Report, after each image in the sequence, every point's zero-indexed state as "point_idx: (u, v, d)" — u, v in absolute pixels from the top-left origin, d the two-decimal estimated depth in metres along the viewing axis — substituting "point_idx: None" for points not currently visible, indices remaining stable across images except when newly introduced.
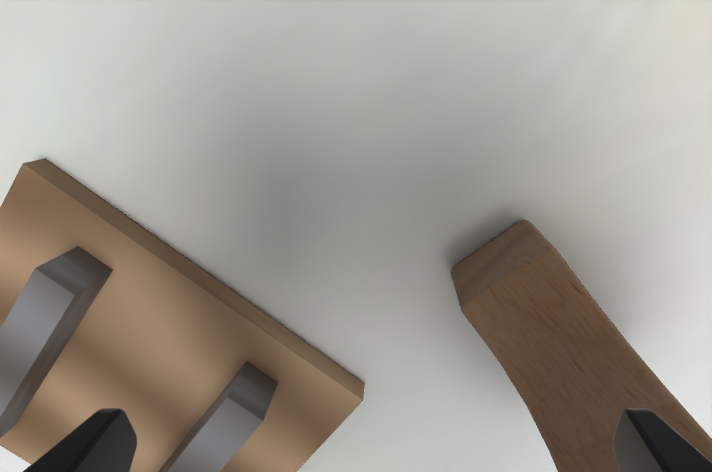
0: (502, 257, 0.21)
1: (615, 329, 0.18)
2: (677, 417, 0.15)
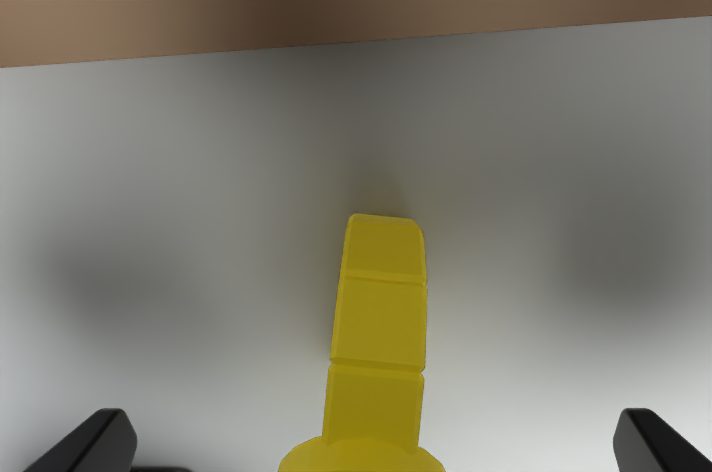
0: None
1: None
2: None
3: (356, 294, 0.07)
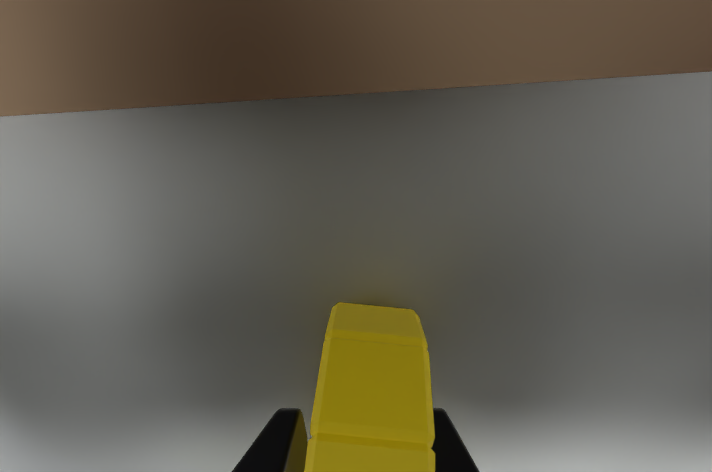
0: None
1: None
2: None
3: (332, 466, 0.05)
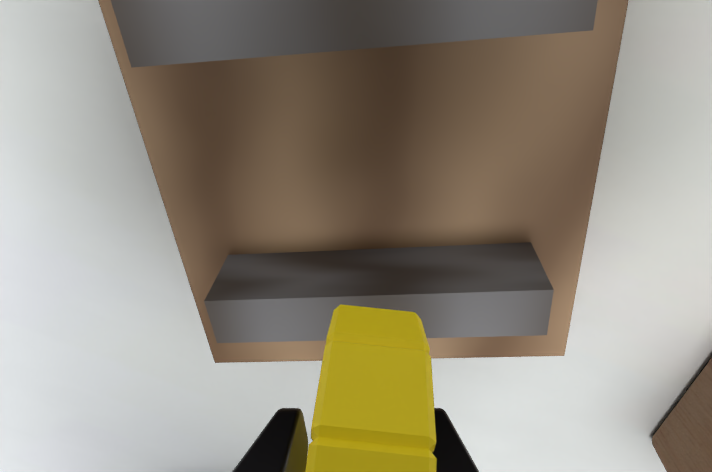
0: None
1: None
2: None
3: (333, 470, 0.05)
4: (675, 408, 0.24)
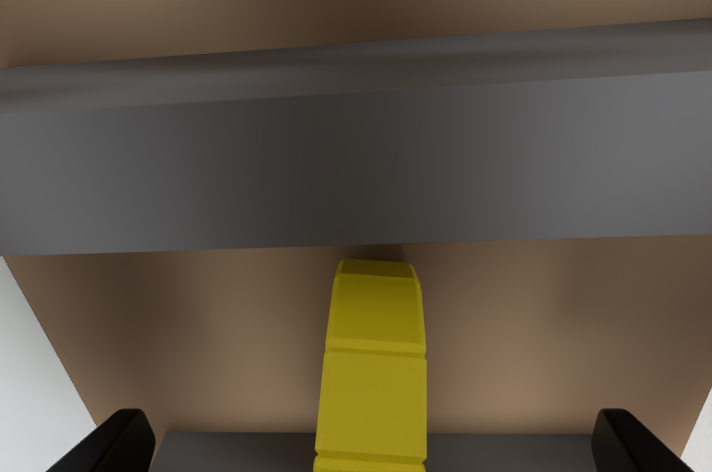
0: None
1: None
2: None
3: (344, 370, 0.06)
4: None
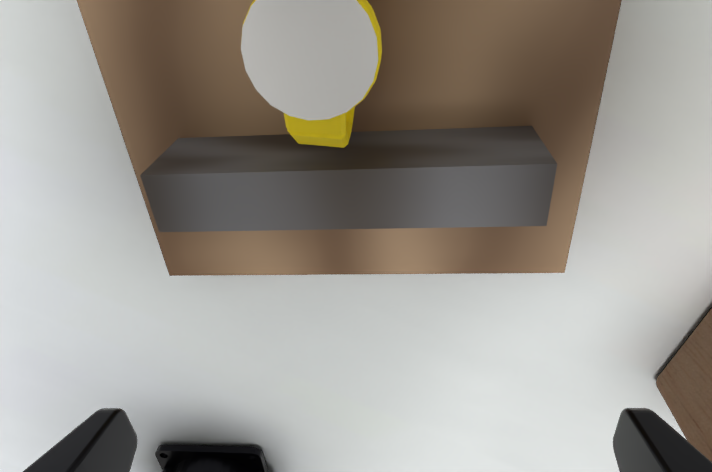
0: None
1: None
2: None
3: None
4: (685, 344, 0.22)
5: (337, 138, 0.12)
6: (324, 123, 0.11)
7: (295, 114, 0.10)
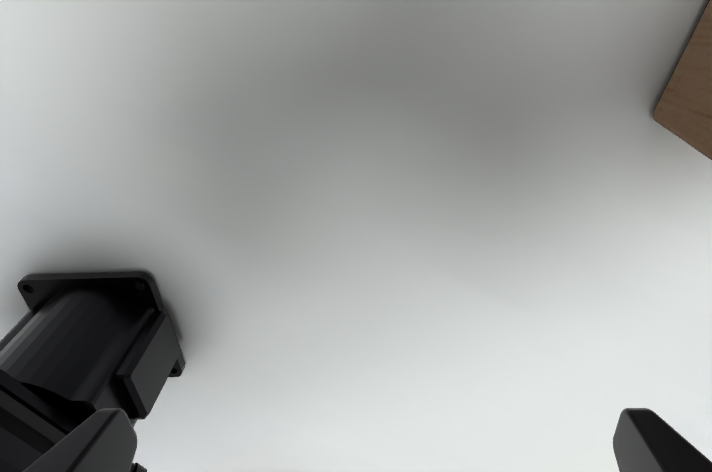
0: None
1: None
2: None
3: None
4: (691, 37, 0.16)
5: None
6: None
7: None
